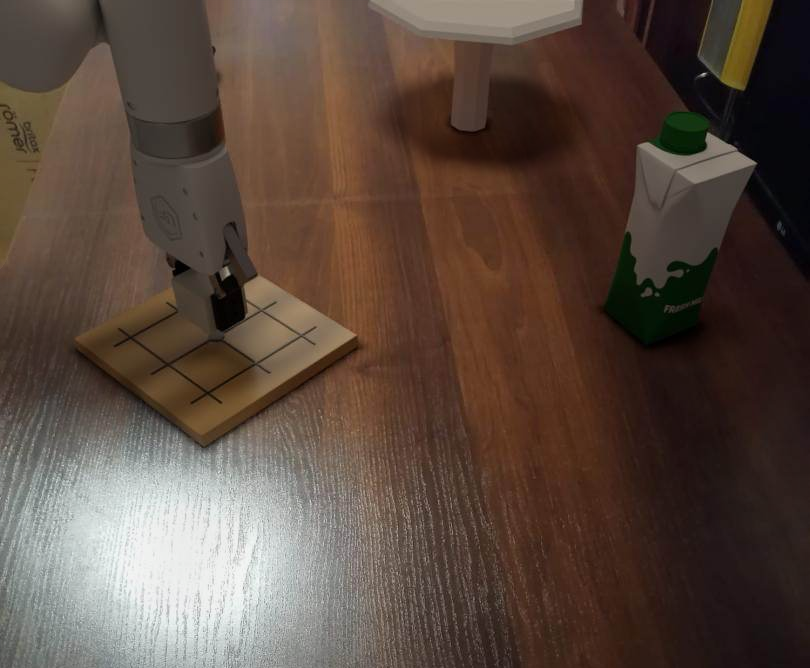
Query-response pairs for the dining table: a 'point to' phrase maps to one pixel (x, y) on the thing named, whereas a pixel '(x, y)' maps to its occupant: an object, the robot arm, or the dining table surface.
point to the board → (216, 357)
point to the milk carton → (675, 226)
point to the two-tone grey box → (198, 298)
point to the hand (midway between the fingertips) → (212, 310)
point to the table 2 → (479, 38)
